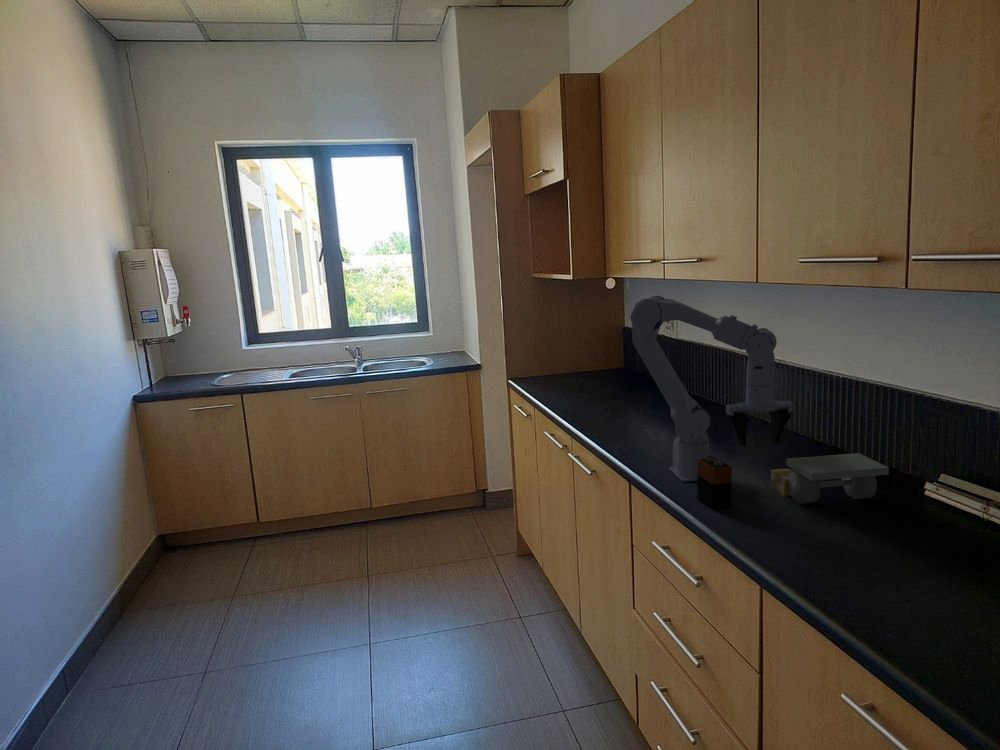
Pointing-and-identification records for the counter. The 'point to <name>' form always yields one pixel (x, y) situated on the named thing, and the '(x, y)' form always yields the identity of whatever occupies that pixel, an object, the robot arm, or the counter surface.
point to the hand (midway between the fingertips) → (758, 443)
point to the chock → (780, 481)
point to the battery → (714, 482)
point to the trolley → (833, 476)
